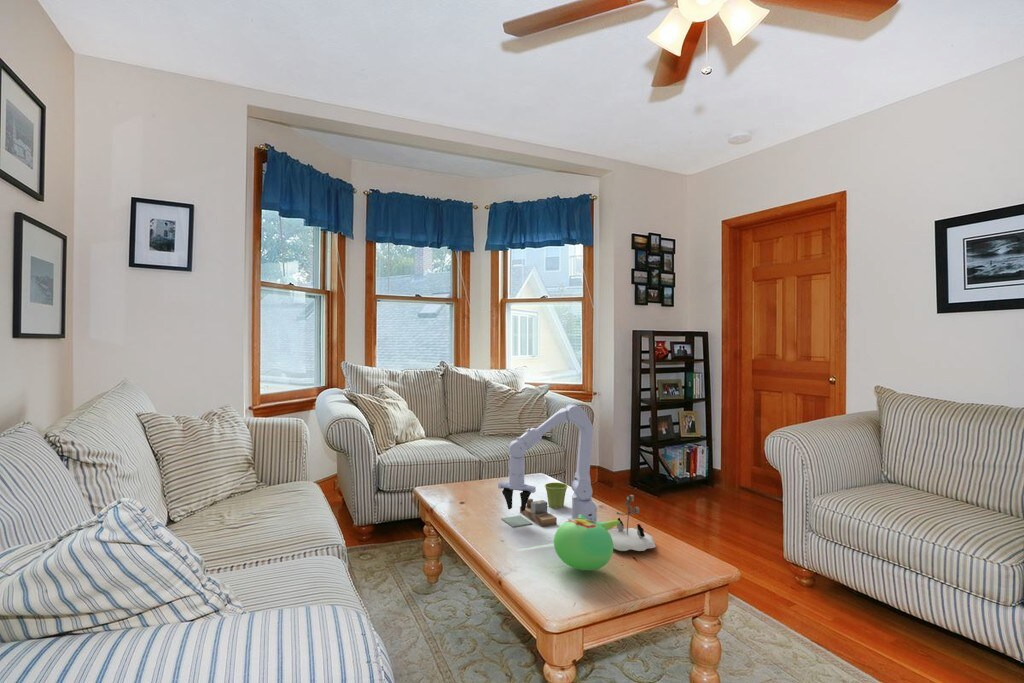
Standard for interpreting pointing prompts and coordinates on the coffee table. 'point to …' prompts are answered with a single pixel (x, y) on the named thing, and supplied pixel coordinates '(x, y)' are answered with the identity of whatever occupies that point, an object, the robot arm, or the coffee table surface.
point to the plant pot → (556, 494)
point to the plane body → (539, 516)
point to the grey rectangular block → (539, 507)
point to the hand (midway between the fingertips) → (516, 509)
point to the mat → (516, 521)
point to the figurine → (630, 534)
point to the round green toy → (584, 543)
